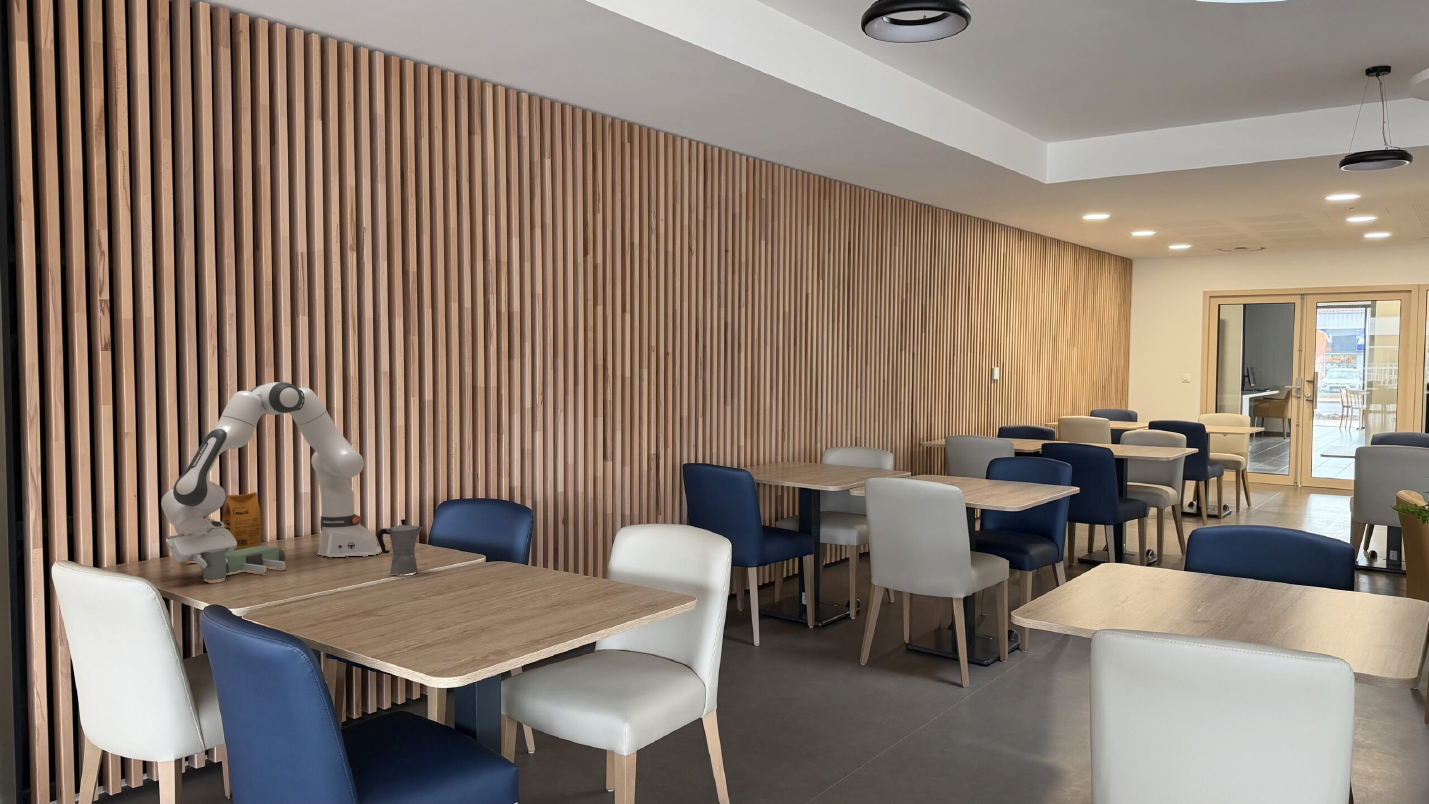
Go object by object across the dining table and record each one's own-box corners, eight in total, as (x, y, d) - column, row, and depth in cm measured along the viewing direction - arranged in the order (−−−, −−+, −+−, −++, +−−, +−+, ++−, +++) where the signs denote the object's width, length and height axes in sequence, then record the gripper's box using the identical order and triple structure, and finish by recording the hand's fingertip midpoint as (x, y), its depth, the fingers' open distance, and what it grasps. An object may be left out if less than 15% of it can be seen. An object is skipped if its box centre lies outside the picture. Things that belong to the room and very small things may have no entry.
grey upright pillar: (216, 579, 300) (215, 548, 300) (226, 581, 298) (225, 549, 298) (203, 582, 296) (202, 551, 296) (213, 584, 294) (212, 552, 294)
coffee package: (218, 553, 343) (217, 493, 342) (254, 548, 352) (253, 490, 351) (228, 557, 336) (227, 496, 336) (264, 552, 345) (263, 493, 345)
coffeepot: (418, 568, 317) (417, 515, 316) (429, 573, 309) (428, 518, 309) (372, 574, 307) (371, 520, 306) (382, 579, 300) (381, 523, 299)
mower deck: (263, 561, 329) (262, 544, 328) (303, 566, 320) (303, 549, 320) (202, 574, 308) (201, 556, 308) (243, 580, 299) (243, 561, 299)
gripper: (168, 530, 290) (189, 564, 286) (227, 521, 308) (248, 553, 305) (159, 544, 292) (180, 578, 288) (218, 533, 311) (239, 565, 307)
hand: (215, 565), depth 297 cm, fingers open, 5 cm apart
